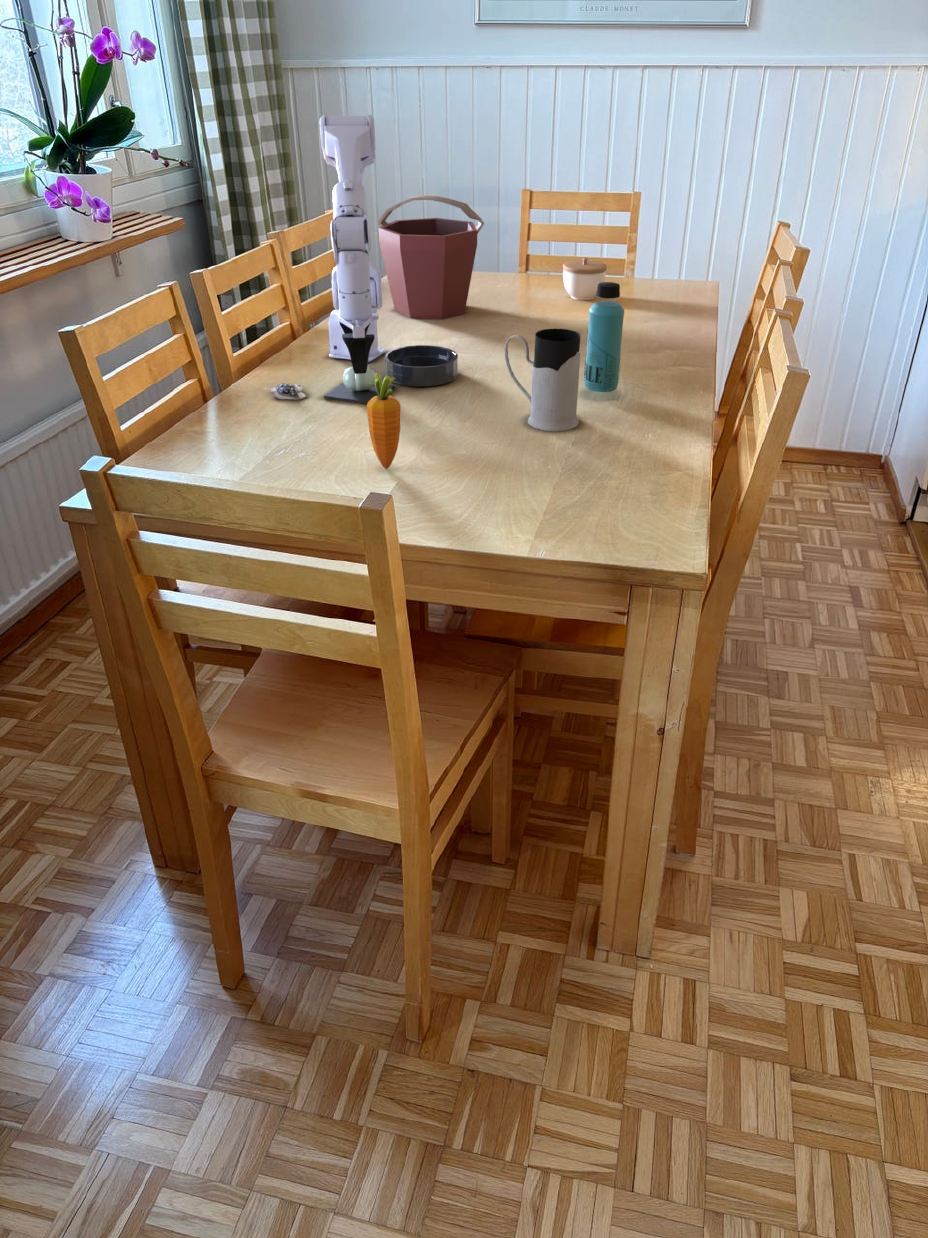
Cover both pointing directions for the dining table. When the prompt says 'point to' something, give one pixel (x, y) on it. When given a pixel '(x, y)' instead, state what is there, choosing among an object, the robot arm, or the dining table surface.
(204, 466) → the dining table surface
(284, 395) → the blueberries
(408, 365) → the basin
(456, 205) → the bucket
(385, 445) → the carrot
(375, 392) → the mat
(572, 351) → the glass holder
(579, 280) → the trinket box
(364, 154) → the robot arm
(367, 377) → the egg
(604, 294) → the beverage bottle
